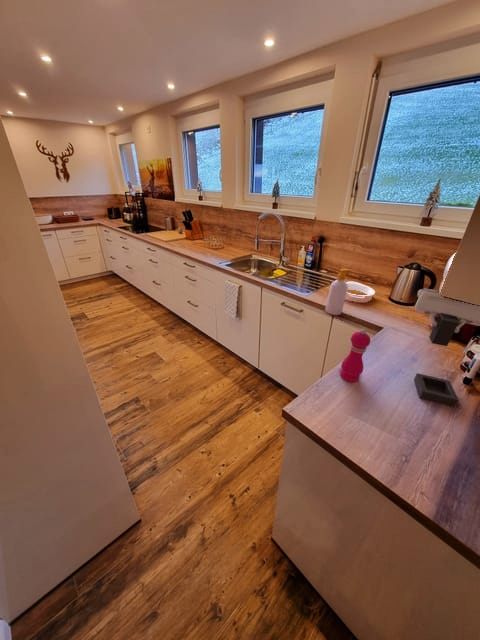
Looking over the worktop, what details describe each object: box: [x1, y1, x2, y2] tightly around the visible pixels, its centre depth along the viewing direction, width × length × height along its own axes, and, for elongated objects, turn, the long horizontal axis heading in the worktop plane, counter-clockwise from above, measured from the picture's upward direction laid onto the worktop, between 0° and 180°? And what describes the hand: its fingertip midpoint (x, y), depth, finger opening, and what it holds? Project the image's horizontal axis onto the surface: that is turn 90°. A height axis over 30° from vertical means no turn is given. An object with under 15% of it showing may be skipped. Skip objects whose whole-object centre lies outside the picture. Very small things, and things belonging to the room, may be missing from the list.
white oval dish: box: [345, 280, 376, 303], centre depth 162 cm, size 29×22×5 cm
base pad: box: [413, 372, 459, 408], centre depth 89 cm, size 10×10×3 cm
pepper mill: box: [340, 328, 371, 383], centre depth 91 cm, size 7×7×20 cm
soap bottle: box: [324, 268, 354, 316], centre depth 137 cm, size 9×9×24 cm
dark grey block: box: [428, 313, 460, 347], centre depth 90 cm, size 5×5×10 cm
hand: (444, 329), depth 89 cm, fingers closed on dark grey block, 5 cm apart
